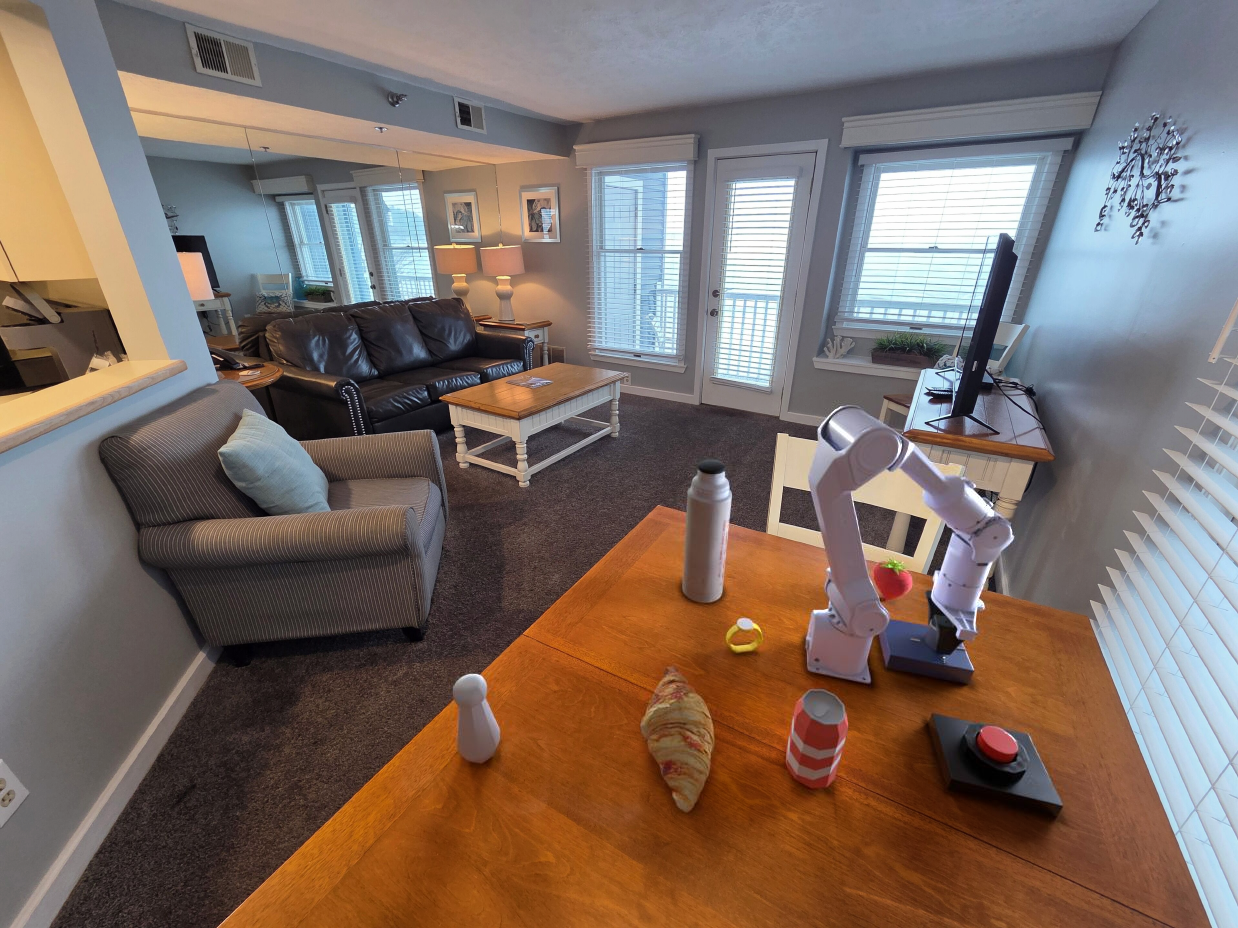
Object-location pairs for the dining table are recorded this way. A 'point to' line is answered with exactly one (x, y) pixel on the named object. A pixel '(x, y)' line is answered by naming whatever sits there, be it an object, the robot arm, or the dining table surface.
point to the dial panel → (922, 653)
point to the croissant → (679, 737)
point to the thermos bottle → (706, 532)
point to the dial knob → (931, 635)
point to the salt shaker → (475, 720)
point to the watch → (744, 626)
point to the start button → (997, 744)
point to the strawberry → (892, 579)
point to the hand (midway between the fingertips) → (939, 642)
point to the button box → (992, 767)
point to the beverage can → (816, 738)
